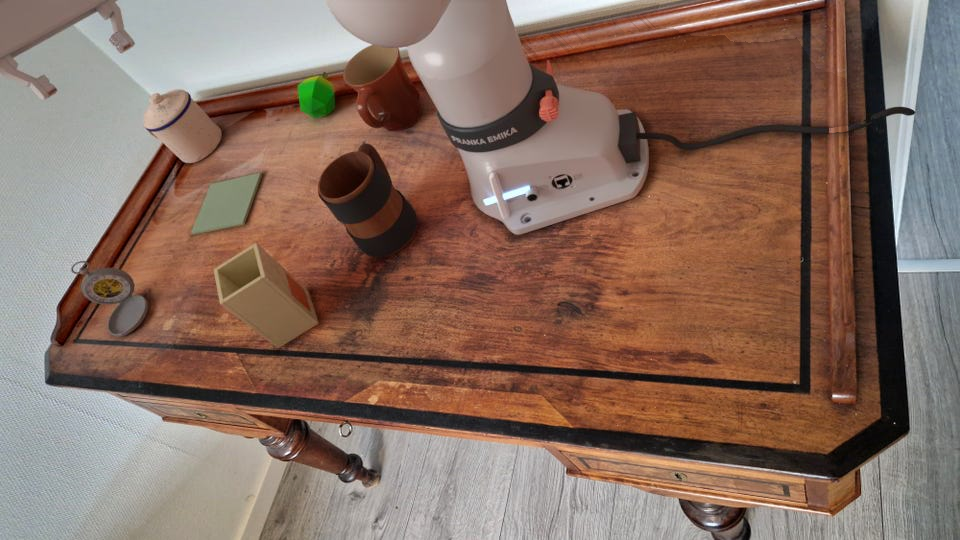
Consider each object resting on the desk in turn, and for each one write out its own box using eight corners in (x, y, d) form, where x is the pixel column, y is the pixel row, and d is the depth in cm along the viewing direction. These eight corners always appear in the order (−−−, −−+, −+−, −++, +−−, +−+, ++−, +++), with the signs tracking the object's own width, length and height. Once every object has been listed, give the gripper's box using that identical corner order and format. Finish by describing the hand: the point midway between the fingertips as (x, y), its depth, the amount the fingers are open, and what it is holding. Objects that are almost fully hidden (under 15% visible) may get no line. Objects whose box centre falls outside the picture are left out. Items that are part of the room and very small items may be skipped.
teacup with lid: (231, 123, 116) (185, 72, 107) (212, 161, 111) (162, 111, 102) (181, 133, 120) (132, 85, 111) (160, 170, 116) (108, 123, 107)
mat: (262, 174, 103) (260, 172, 103) (244, 224, 98) (242, 222, 97) (212, 185, 107) (210, 183, 106) (192, 234, 101) (190, 233, 101)
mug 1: (386, 100, 102) (353, 47, 94) (436, 92, 99) (405, 36, 91) (364, 157, 96) (327, 107, 88) (416, 151, 93) (382, 98, 85)
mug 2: (428, 183, 88) (388, 121, 79) (415, 256, 81) (369, 197, 72) (373, 193, 91) (328, 134, 82) (355, 264, 84) (304, 209, 76)
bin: (309, 290, 85) (256, 241, 77) (319, 323, 81) (265, 275, 73) (269, 314, 85) (213, 269, 77) (278, 348, 81) (219, 304, 73)
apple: (296, 90, 99) (310, 50, 104) (286, 115, 104) (300, 77, 109) (340, 109, 102) (352, 70, 106) (329, 133, 107) (341, 95, 111)
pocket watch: (127, 344, 92) (67, 309, 85) (99, 325, 97) (41, 291, 90) (165, 297, 95) (111, 259, 88) (137, 281, 100) (83, 244, 92)
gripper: (-137, -18, 55) (0, 120, 60) (75, -111, 65) (175, 15, 70) (-130, 8, 60) (-4, 133, 65) (66, -82, 70) (161, 33, 75)
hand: (90, 71), depth 68 cm, fingers open, 8 cm apart
